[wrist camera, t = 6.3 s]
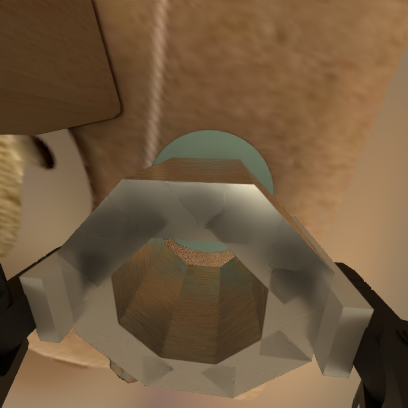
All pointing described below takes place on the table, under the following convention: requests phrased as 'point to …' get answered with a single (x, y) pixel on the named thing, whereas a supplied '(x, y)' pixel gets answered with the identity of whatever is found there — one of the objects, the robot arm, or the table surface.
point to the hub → (216, 149)
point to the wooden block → (52, 67)
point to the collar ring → (196, 280)
